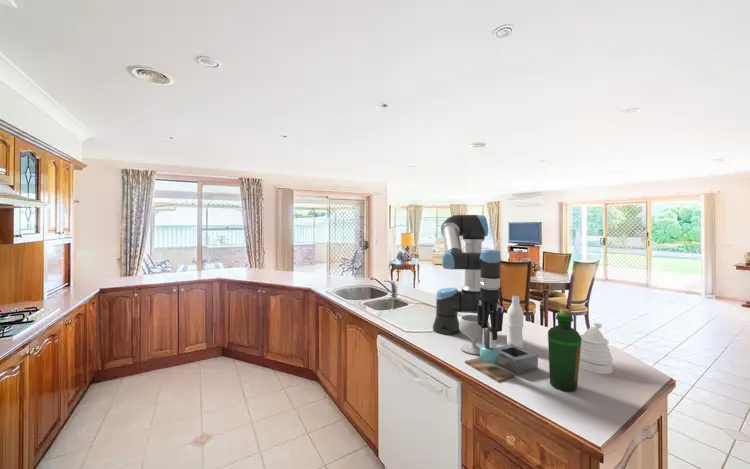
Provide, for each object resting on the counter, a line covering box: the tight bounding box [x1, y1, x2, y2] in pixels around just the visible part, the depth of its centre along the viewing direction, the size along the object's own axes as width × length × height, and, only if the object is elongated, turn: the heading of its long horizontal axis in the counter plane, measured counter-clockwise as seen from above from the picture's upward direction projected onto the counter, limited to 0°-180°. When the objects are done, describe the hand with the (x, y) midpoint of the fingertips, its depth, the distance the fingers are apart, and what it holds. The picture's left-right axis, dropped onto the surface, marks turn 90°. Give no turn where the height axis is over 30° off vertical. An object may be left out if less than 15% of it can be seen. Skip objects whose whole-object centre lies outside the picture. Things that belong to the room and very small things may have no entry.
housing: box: [495, 344, 539, 377], centre depth 128 cm, size 13×13×6 cm
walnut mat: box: [464, 357, 516, 383], centre depth 125 cm, size 18×9×1 cm, turn 25°
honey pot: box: [579, 322, 614, 375], centre depth 128 cm, size 13×13×18 cm
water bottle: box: [506, 295, 524, 349], centre depth 148 cm, size 7×7×25 cm
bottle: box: [547, 308, 581, 392], centre depth 112 cm, size 11×11×28 cm
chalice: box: [459, 314, 491, 355], centre depth 145 cm, size 14×14×15 cm
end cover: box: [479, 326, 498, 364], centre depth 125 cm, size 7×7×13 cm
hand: (489, 345), depth 125 cm, fingers closed on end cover, 3 cm apart
